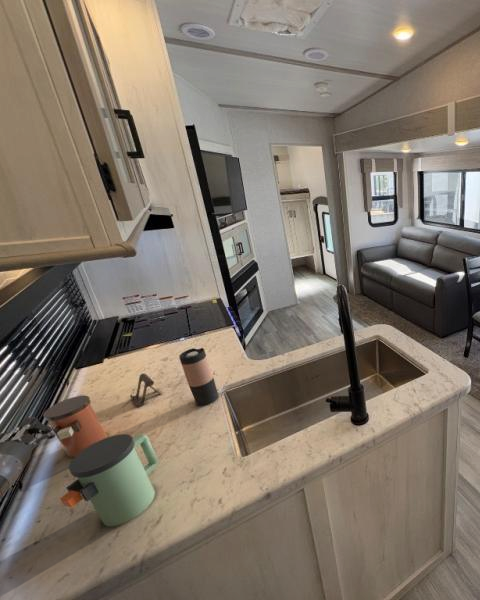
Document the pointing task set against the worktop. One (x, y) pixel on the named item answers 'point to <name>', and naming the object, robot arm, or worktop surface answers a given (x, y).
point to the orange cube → (71, 498)
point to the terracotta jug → (76, 423)
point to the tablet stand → (148, 383)
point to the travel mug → (199, 376)
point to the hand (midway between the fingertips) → (32, 420)
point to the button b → (65, 433)
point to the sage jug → (115, 477)
